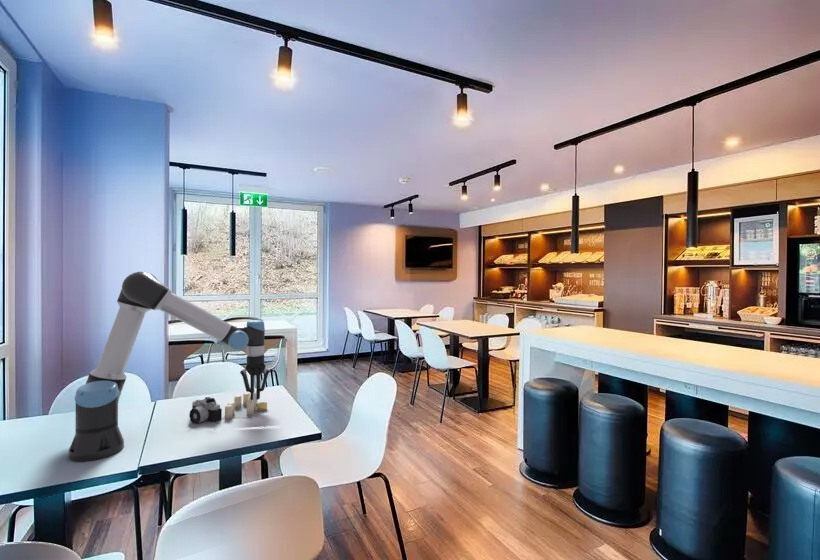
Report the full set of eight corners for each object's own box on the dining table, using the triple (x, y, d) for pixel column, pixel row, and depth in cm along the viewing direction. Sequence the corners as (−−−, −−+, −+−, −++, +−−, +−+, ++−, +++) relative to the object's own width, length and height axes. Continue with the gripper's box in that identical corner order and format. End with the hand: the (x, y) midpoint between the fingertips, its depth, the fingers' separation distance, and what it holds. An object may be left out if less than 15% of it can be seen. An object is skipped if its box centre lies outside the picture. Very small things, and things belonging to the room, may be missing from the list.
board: (251, 420, 170) (251, 406, 170) (221, 421, 168) (221, 407, 168) (260, 404, 189) (260, 392, 189) (233, 406, 187) (233, 393, 187)
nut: (266, 411, 178) (266, 404, 178) (255, 411, 177) (255, 405, 177) (267, 408, 183) (267, 401, 182) (257, 408, 182) (257, 401, 182)
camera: (180, 422, 166) (180, 398, 166) (199, 415, 174) (199, 393, 174) (206, 429, 160) (206, 404, 159) (224, 421, 168) (225, 398, 168)
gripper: (272, 352, 184) (271, 403, 184) (242, 353, 182) (242, 404, 182) (269, 356, 177) (268, 408, 177) (238, 356, 174) (237, 410, 175)
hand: (255, 406), depth 180 cm, fingers closed
